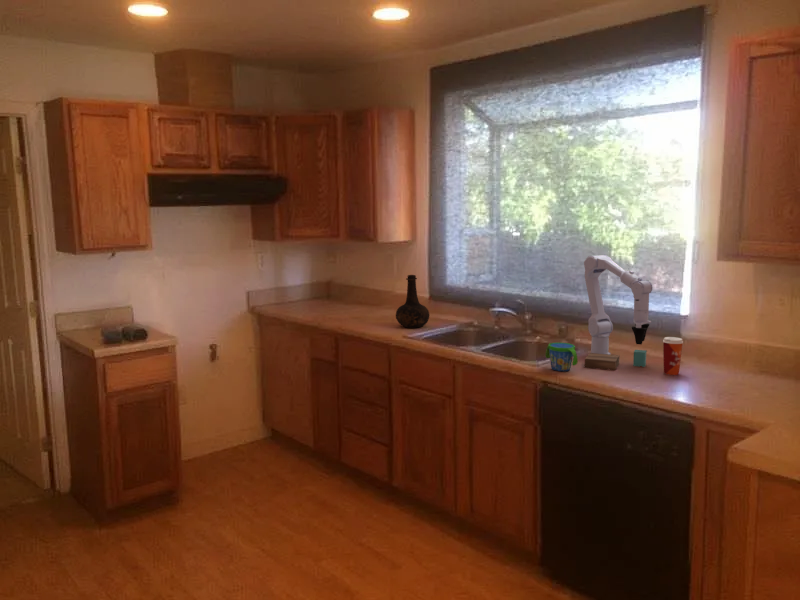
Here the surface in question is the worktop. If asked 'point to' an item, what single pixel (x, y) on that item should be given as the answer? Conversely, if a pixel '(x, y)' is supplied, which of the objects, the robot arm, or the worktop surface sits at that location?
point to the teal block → (639, 358)
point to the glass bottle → (412, 308)
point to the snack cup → (561, 356)
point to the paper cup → (672, 355)
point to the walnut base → (602, 361)
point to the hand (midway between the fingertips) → (640, 342)
